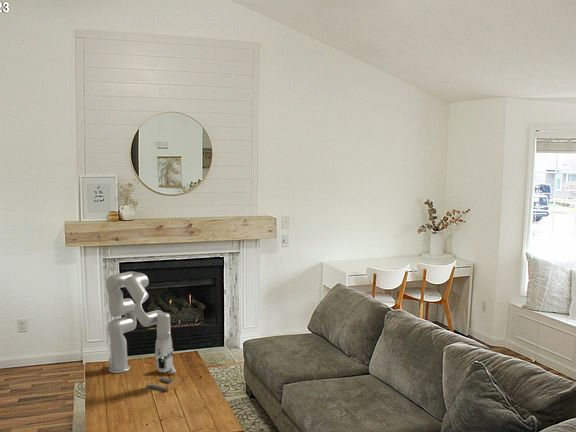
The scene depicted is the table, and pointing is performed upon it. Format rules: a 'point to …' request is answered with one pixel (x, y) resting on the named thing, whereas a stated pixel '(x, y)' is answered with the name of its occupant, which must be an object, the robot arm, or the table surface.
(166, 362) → the block
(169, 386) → the receiver
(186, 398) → the table surface
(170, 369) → the white jointed piece
